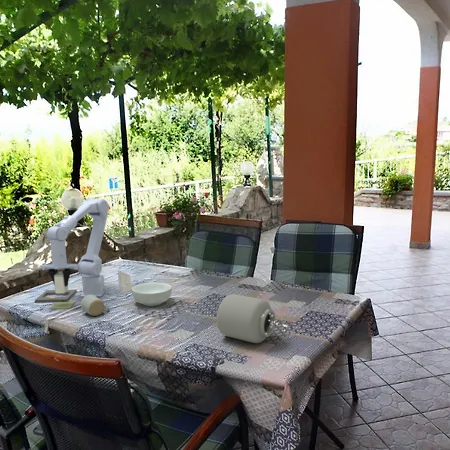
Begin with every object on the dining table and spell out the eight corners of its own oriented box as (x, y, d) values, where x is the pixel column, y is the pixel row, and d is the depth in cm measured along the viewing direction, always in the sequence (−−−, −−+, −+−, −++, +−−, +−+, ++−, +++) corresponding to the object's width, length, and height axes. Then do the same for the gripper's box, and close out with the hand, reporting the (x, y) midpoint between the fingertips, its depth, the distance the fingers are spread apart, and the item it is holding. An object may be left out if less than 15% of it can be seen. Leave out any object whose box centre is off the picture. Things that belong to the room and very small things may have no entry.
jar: (249, 309, 174) (305, 315, 157) (236, 346, 168) (292, 357, 151) (219, 286, 163) (276, 290, 146) (203, 324, 157) (261, 333, 140)
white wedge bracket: (111, 288, 211) (117, 270, 214) (126, 294, 219) (132, 276, 222) (117, 290, 209) (123, 271, 212) (131, 295, 217) (137, 277, 220)
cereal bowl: (180, 302, 198) (179, 286, 197) (149, 312, 186) (148, 296, 185) (155, 294, 210) (154, 279, 209) (124, 303, 198) (123, 288, 197)
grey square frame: (76, 292, 216) (76, 288, 215) (66, 302, 202) (66, 298, 201) (46, 292, 215) (46, 289, 215) (34, 302, 202) (34, 299, 201)
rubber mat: (75, 302, 201) (75, 301, 201) (69, 308, 193) (69, 308, 193) (56, 302, 201) (56, 302, 201) (50, 309, 193) (50, 308, 193)
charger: (68, 289, 198) (66, 271, 197) (64, 293, 193) (62, 274, 192) (59, 289, 198) (58, 271, 197) (55, 293, 193) (54, 275, 192)
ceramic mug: (89, 318, 181) (88, 300, 180) (80, 313, 187) (79, 296, 186) (113, 312, 188) (112, 295, 187) (103, 308, 194) (103, 291, 193)
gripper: (37, 257, 189) (40, 289, 191) (73, 256, 189) (75, 288, 191) (44, 253, 196) (46, 284, 198) (78, 252, 196) (80, 283, 198)
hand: (61, 286), depth 195 cm, fingers closed on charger, 4 cm apart
